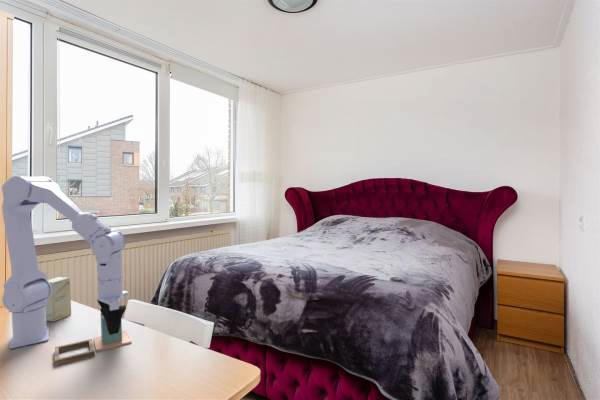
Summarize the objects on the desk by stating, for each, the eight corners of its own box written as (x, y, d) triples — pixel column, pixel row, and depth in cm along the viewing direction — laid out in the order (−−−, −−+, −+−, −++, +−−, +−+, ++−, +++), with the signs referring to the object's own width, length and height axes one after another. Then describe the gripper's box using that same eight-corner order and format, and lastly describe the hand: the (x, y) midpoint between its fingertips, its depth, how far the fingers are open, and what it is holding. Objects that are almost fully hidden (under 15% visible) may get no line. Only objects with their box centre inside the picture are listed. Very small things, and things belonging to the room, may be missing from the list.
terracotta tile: (93, 339, 93) (93, 337, 93) (126, 332, 97) (126, 330, 97) (96, 351, 86) (96, 349, 86) (131, 343, 91) (131, 341, 91)
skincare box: (54, 322, 104) (52, 282, 104) (42, 321, 105) (40, 281, 104) (72, 314, 111) (70, 276, 110) (60, 313, 111) (58, 276, 111)
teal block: (101, 338, 92) (100, 313, 92) (119, 334, 95) (119, 309, 94) (103, 345, 89) (102, 318, 88) (122, 340, 91) (121, 314, 91)
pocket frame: (55, 351, 86) (54, 347, 86) (92, 343, 91) (92, 338, 91) (54, 366, 80) (54, 361, 80) (94, 355, 84) (94, 351, 84)
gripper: (131, 282, 87) (133, 334, 88) (122, 269, 99) (124, 315, 100) (99, 287, 83) (101, 341, 84) (94, 273, 95) (96, 321, 96)
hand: (111, 328), depth 92 cm, fingers open, 7 cm apart
